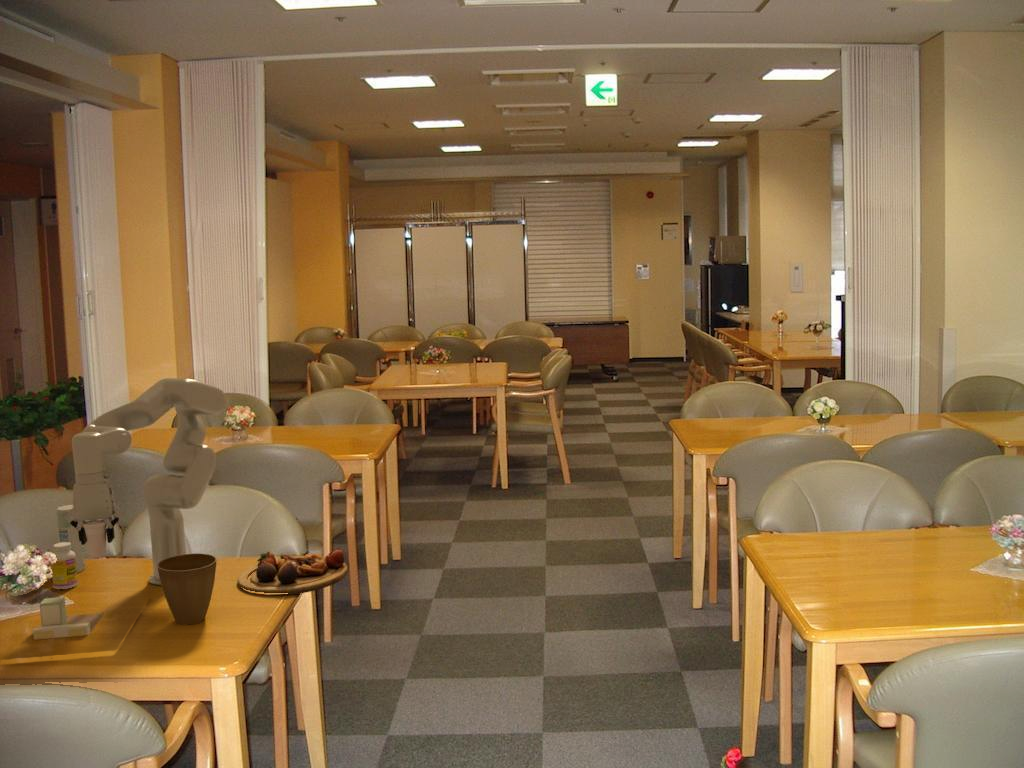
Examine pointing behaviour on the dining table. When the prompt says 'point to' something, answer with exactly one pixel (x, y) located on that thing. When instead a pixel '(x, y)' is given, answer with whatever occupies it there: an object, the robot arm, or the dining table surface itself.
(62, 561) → the supplement bottle
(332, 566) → the wooden plate with food
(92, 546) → the smoothie
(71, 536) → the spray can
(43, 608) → the tea box
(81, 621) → the shelf board
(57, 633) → the rail
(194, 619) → the plant pot
